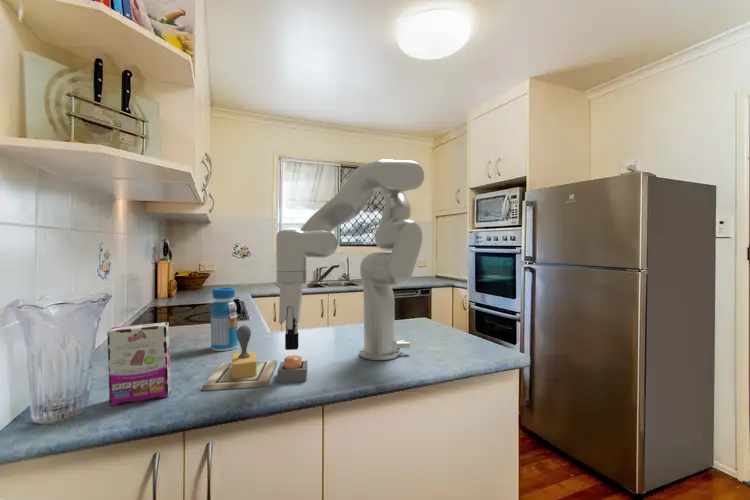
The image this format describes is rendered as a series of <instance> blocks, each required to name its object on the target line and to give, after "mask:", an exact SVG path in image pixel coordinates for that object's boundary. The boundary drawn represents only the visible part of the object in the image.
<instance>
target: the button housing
mask: <svg viewBox="0 0 750 500" xmlns="http://www.w3.org/2000/svg"><path fill="white" fill-rule="evenodd" d="M276 373H277V374H276V375H277V378H276V379H277V384H286V383H287V384H289V383H302V382H303V383H304V382H307V380H308V360H302V368H301V369H284V361H281V362H280V363H279V366H278V369H277V372H276Z"/></svg>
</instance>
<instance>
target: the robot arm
mask: <svg viewBox="0 0 750 500" xmlns="http://www.w3.org/2000/svg"><path fill="white" fill-rule="evenodd" d="M424 180H425V171H424V169H423V167H422V166H421V165H420V164H419V163H418V162H416V161H413V160H398V159H396V160H394V159H379V160H375V161H372V162H369V163H368V162H367V163H365V164H362V165H360V166H359V167H356V169H355V170H354V172H353V173H352V174H351V175H350V176H349V177H348V179H347V181H346V182H345V183H344V184H343V185H342V186H341V188H340V189H339V190H338V191H337V193H336V194H335V195H334V196H333V198H331V199H330V200H328V201H327V202H326V203H325V204H323V206H322V207H320V209H318V210H317V211H316V212H315V213H314V214H313V215H311V216H310V218H308V220H307V221H306V222H305V223H304V224H303V226H302V227H301V228H300V229H281V230H279V231H278V232H277V234H276V240H275V241H276V243H275V244H276V251H275V252H276V257H275V258H276V285H280V287H279V298H278V299H279V302H278V304H279V305H278V306H279V307H278V311H279V312H278V323H279V324H280V325H283V323H284V322H285V333H284V342H285V343H284V349H285V350H286V351H288V350H289V351H293V350H294V351H295V350H298V349H299V332H298V331H299V330H298V328H299V327H298V326H299V325H298V324H299V323H300V320H301V315H302V307H303V306H302V303H303V301H302V300H303V298H302V295H303V294H302V293H303V292H302V291H303V290H302V289H303V285H306V284H307V258H316V259H318V258H319V259H323V258H324V259H325V258H329V257H330V256H332V255H333V254H334V253H335V252H336V251H337V248H338V245H339V243H338V239H337V237H336V235H335V234H334V233H333V232H332V231H333V230H335V229H336V228H338V227H340V226H342V225H343V224H346V223H348V222H350V221H352V220H353V219H354V218H356V217H357V216H358V215H360V213H361V211H362V210H363V208H364V207H365V206H366V204H367V203H368V201H370V199H371V198H372V196H373V195H374V194H375V193H376V192H380V191H381V194H382V196H383V199H384V209H383V212H382V215H381V218H380V220H379V224H378V227H377V230H376V232H375V236H374V241H375V245H376V247H378V249H380V250H383V251H385V252H371V253H368V254H367V255H366V256H364V258H363V259H362V260H361V262H360V269H359V271H360V278H361V279H360V280H361V283H362V289H363V290H362V292H363V293H362V294H363V341H364V342H363V345H364V346H363V347H361V348H360V349H359V351H358V355H359V357H360V358H363V359H364V360H365V359H366V360H370V361H388V360H393V359H396V358H398V357H399V356H400V354H401V353H400V352H401V351H400V350H401V349H410V348H411V342H410V341H405V340H397V339H396V337H395V335H396V333H395V328H396V327H395V326H396V325H395V295H394V291H393V287H392V286H402V285H405V284H406V283H407V282H409V280H411V277H412V275H413V273H414V270H415V266H416V263H417V260H418V258H419V254H420V251H421V248H422V243H423V231H422V228H421V226H420V224H418V222H416V221H414V220H411V219H410V216H411V210H412V209H411V205H410V202H409V199H408V198H407V195H406V193H405V192H407V191H413V190H416V189H418V188H420V186H422V184H423V182H424Z"/></svg>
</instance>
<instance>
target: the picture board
mask: <svg viewBox="0 0 750 500" xmlns="http://www.w3.org/2000/svg"><path fill="white" fill-rule="evenodd" d="M256 362H257V374H256V376H250V377H242V378H235V379H233V378H232V362H224V363H221V364H220V365H219V366H218V367H217V368H216V370H214V372H213V373H212V374H211V375H210V376H209V378H208V379H207V380H206V381H205V382H204V383H203V384H202V391H212V390H227V389H229V390H231V389H244V388H246V389H247V388H261V387H269V385H270V382H271V380H272V377H273V375H274V374H275V373H274V372H275V370H276V368H277V365H278V360H277V359H275V360H273V359H272V360H260V361H259V360H258V361H257V360H256Z"/></svg>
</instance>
